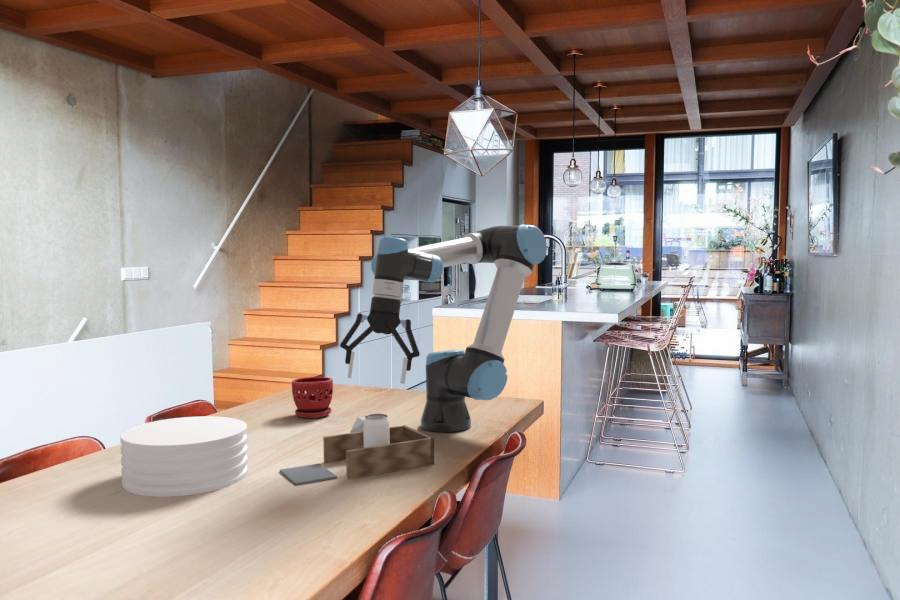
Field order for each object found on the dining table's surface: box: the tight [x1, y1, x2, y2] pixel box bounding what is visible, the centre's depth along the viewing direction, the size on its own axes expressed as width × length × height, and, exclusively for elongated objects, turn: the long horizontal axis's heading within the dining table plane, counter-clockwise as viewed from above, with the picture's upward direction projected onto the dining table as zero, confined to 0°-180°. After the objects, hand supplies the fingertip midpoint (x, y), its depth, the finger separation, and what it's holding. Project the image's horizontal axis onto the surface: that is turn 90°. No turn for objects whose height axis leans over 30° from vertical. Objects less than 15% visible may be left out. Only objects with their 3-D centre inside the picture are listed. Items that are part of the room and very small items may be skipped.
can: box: [363, 413, 390, 448], centre depth 181 cm, size 6×6×12 cm
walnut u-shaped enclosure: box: [322, 424, 435, 480], centre depth 182 cm, size 23×16×6 cm
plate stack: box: [119, 415, 249, 498], centre depth 172 cm, size 28×28×12 cm
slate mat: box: [279, 463, 338, 486], centre depth 173 cm, size 10×12×1 cm
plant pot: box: [291, 376, 334, 419], centre depth 235 cm, size 13×13×12 cm
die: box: [349, 416, 365, 433], centre depth 196 cm, size 8×9×10 cm
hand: (376, 380), depth 184 cm, fingers open, 13 cm apart
